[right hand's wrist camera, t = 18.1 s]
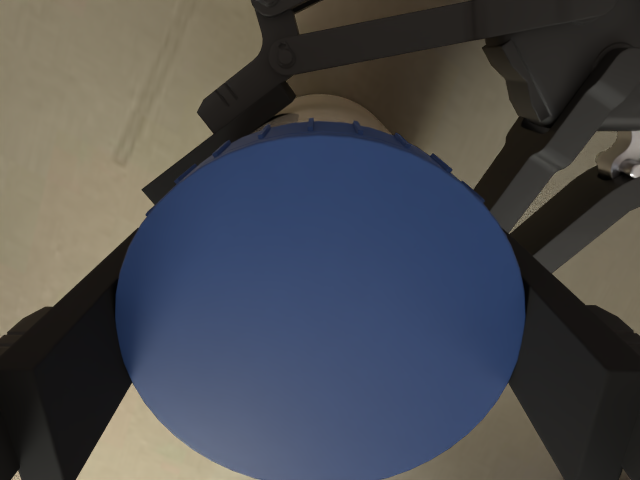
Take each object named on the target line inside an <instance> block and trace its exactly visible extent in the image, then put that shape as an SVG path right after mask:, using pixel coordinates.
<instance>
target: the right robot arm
mask: <svg viewBox="0 0 640 480" xmlns="http://www.w3.org/2000/svg"><path fill="white" fill-rule="evenodd" d="M138 229H139V228H137V229H136V230H135V231H134V232H133V233H132V234H131V235H130V236H129V237H128V238H126V239H125V240H124V241H123V242H122V243H121V244H120V245H119V246H118V247H117V248H116V249H115V250H114V251H113V252H111V253H110V254H109V255H108V256H107V257H106V258H105V259H104V260H103V261H102V262H101V263H100V264H99V265H97V266H96V267H95V268H94V269H93V270H92V271H91V272H90V273H89V274H88V275H87V276H86V277H85V278H84V279H82V280H81V281H80V282H79V283H78V284H77V285H76V286H75V287H74V288H73V289H72V290H71V291H70V292H68V293H67V294H66V295H65V296H64V297H63V298H62V299H61V300H60V301H59V302H58V303H57V304H56V305H54V306H53V307H44V308H42V309H40V310H38V311H36V312H34V313H32V314H31V315H29V316H27V317H25V318H23V319H22V320H21V321H20V322H18V323H17V324H16V325H15V326H14V327H13V328H12V329H10V330H9V331H8V332H7V335H4V336H2V337H1V338H0V480H11V479H12V478H13V476H14V475H15V473H16V472H17V471H19V474H20V477H21V480H76V478H77V477H78V475H79V473H80V471H81V470H82V468H83V466H84V465H85V463H86V461H87V459H88V458H89V456H90V454H91V452H92V451H93V449H94V447H95V446H96V444H97V442H98V440H99V439H100V437H101V435H102V434H103V432H104V430H105V428H106V427H107V425H108V423H109V421H110V420H111V418H112V416H113V415H114V413H115V411H116V409H117V408H118V406H119V404H120V402H121V401H122V399H123V397H124V396H125V394H126V392H127V390H128V389H129V387H130V385H131V384H132V380H131V378H130V376H129V374H128V371H127V369H126V367H125V365H124V362H123V358H122V355H121V350H120V346H119V341H118V335H117V330H116V323H115V299H116V290H117V285H118V279H119V274H120V270H121V267H122V264H123V261H124V258H125V255H126V253H127V250H128V247H129V245H130V243H131V242H132V240H133V238H134V236H135V234H136V232H137V231H138ZM502 230H503V231H504V233H506V235H507V239H508V240H509V242H510V244H511V246H512V249H513V251H514V254H515V257H516V259H517V262H518V265H519V267H520V272H521V277H522V282H523V286H524V291H525V312H526V318H525V326H524V332H523V337H522V342H521V347H520V352H519V357H518V360H517V363H516V365H515V368H514V370H513V373H512V375H511V377H510V380H509V382H508V383H509V385H510V386H511V388H512V390H513V392H514V393H515V395H516V397H517V399H518V400H519V402H520V404H521V405H522V407H523V409H524V411H525V412H526V414H527V416H528V418H529V419H530V421H531V423H532V424H533V426H534V428H535V430H536V431H537V433H538V435H539V436H540V438H541V440H542V442H543V443H544V445H545V447H546V449H547V450H548V452H549V454H550V455H551V457H552V459H553V461H554V462H555V464H556V466H557V468H558V469H559V471H560V473H561V474H562V476H563V478H564V480H619V478H620V475H621V472H622V469H624V471H625V472H626V473H627V475H628V476H629V477H630V479H631V480H640V336H639V335H638V334H637V333H634V332H633V330H632V329H631V328H630V327H629V326H628V325H627V324H625V323H624V322H623V321H622V320H621V319H620V318H618V317H617V316H615V315H613V314H611V313H609V312H607V311H606V310H604V309H602V308H600V307H598V306H596V305H585V304H584V303H583V302H582V301H580V300H579V299H578V298H577V297H576V296H575V295H574V294H573V293H572V292H571V291H570V290H569V289H568V288H566V287H565V286H564V285H563V284H562V283H561V282H560V281H559V280H558V279H557V278H556V277H555V276H554V275H552V274H551V273H550V272H549V271H548V270H547V269H546V268H545V267H544V266H543V265H542V264H541V263H540V262H539V261H537V260H536V259H535V258H534V257H533V256H532V255H531V254H530V253H529V252H528V251H527V250H526V249H525V248H523V247H522V246H521V245H520V244H519V243H518V242H517V241H516V240H515V239H514V238H513V237H512V236H511V235H509V234H508V233H507V232H506V231H505V230H504V229H503V228H502Z"/></svg>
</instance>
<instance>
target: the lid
mask: <svg viewBox="0 0 640 480" xmlns="http://www.w3.org/2000/svg"><path fill="white" fill-rule="evenodd" d="M451 171H452V169H451V168H450V167H449V166H448V165H447V164H445V163H444V162H443V161H442V160H441V159H439V158H438V157H437V156H436V155H434V154H433V153H432V155H431V156H429V155H428V154H426V153H425V152H423V151H422V150H421V149H419V148H418V147H416V146H414V145H412V144H410V143H408V142H407V141H406V140H405V139H404V138H403V137H402V136H401V135H400V134H398V133H395V135H391V134H388V133H385V132H382V131H379V130H376V129H373V128H370V127H365V126H360V124H359V122H358V121H353V124H350V123H344V122H327V121H314V118H309V121H308V122H298V123H290V124H285V125H281V126H276V127H271V126H270V124H269V125H265V127H264V128H263V129H262V130H261V131H258V132H256V133H253V134H250V135H247V136H244V137H242V138H240V139H238V140H236V141H235V142H233V143H231V142H230V140H228V141H226V142H225V143H224V144H223V145H222V146H220V147H219V148H218V149H217V150H216V151H215V152H214V153H213V154H212V155H211V156H210V157H209V158H207V159H206V160H204V161H203V162H202V163H200V164H199V165H198V166H197V165H196V164H194V165H192V166H191V167H190V168H189V169H188V170H187V171H185V172H184V173H183V174H182V175H181V176H179V177H178V178H177V179H176V180H175V181H174V182H175V183H176V185H175V186H174V187H173V188H172V189H171V190H170V191H169V192H168V193H167V194H166V195H165V196H164V197H163V198H162V199H161V200H160V201H159V202H158V203H157V204H156V205H154V206H153V207H152V208H151V209H150V210H149V211H148V212H147V213H146V216H147V217H146V218H145V220H144V221H143V222H142V224H141V225H140V227H139V229H138V231H137V232H136V234H135V236H134V238H133V240H132V242H131V243H130V245H129V247H128V250H127V253H126V255H125V258H124V261H123V264H122V267H121V270H120V274H119V279H118V285H117V290H116V299H115V323H116V330H117V335H118V341H119V346H120V350H121V355H122V358H123V362H124V365H125V367H126V369H127V371H128V374H129V376H130V378H131V380H132V383H133V385H134V386H135V388H136V390H137V391H138V393H139V394H140V396H141V398H142V399H143V401H144V403H145V404H146V405H147V406H148V408H149V409H150V410H151V411H152V413H153V414H154V415H155V416H156V417H157V419H158V420H159V421H160V422H161V423H162V424H163V425H164V426H165V427H166V428H167V429H168V430H169V431H170V432H171V433H172V434H173V435H175V436H176V437H177V438H178V439H180V440H181V441H182V442H184V443H185V444H186V445H187V446H189V447H190V448H191V449H193V450H194V451H196V452H198V453H199V454H201V455H203V456H204V457H206V458H208V459H209V460H211V461H213V462H215V463H217V464H219V465H221V466H224V467H226V468H228V469H230V470H232V471H235V472H238V473H241V474H243V475H246V476H249V477H252V478H255V479H260V480H381V479H385V478H389V477H391V476H394V475H397V474H400V473H403V472H405V471H408V470H411V469H413V468H415V467H417V466H419V465H421V464H423V463H425V462H427V461H430V460H431V459H433V458H435V457H436V456H438V455H439V454H441V453H443V452H444V451H446V450H448V449H449V448H451V447H452V446H453V445H454V444H456V443H457V442H458V441H460V440H461V439H462V438H463V437H465V436H466V435H467V434H468V433H469V432H470V431H471V430H472V429H473V428H474V427H475V426H476V425H477V424H478V423H479V422H480V421H481V420H482V419H483V418H484V417H485V416H486V414H487V413H488V412H489V411H490V409H491V408H492V407H493V406H494V404H495V403H496V402H497V400H498V399H499V397H500V395H501V394H502V392H503V390H504V389H505V387H506V385H507V384H508V382H509V380H510V377H511V375H512V373H513V370H514V368H515V365H516V363H517V360H518V357H519V352H520V347H521V342H522V337H523V332H524V326H525V318H526V312H525V291H524V286H523V282H522V277H521V272H520V267H519V265H518V262H517V259H516V257H515V254H514V251H513V249H512V246H511V244H510V242H509V240H508V239H507V235H506V233H504V231H503V230H502V228H501V226H500V224H499V223H498V221H497V220H496V219H495V217H494V216H493V215H492V214H491V212H490V211H489V210H488V209H487V207H486V206H485V205H484V204H483V202H485V200H484V199H483V198H482V197H481V196H480V195H479V194H477V193H476V192H475V191H474V190H473V189H472V188H470V187H469V186H468V185H467V184H466V183H465V182H463V181H460V180H458V179H457V178H456V177H455V176H454V175H453V174H451V173H450V172H451Z"/></svg>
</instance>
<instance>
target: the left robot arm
mask: <svg viewBox="0 0 640 480" xmlns="http://www.w3.org/2000/svg"><path fill="white" fill-rule="evenodd" d="M320 1H322V0H251V2H252V5H253V7H254V8H255V11H256V15H257V18H258V22H259V25H260V28H261V32H262V37H263V44H262V48H261V51H260V53H259V55H258V56H257V57H256V58H255V59H254V60H253V61H252V62H250V63H249V64H248V65H247V66H245V67H244V68H243V69H241V70H240V71H239V72H238V73H236V74H235V75H234V76H233V77H231V78H230V79H229V80H228V81H226V82H225V83H224V84H223V85H221V86H220V87H219V88H218V89H216V90H215V91H214V92H213V93H211V94H210V95H209V96H207V97H206V98H205V99H204V100H203V102H202V104H201V106H200V108H199V109H198V111H197V113H198V114H199V116H200V117H201V118H202V120H203V121H204V122H205V123H206V125H207V126H208V127H209V128H210V130H211V131H212V132H213V135H212V136H211V137H209V138H208V139H207V140H205V141H204V142H203V143H201V144H200V145H199V146H198V147H196V148H195V149H194V150H192V151H191V152H190V153H188V154H187V155H186V156H185V157H183V158H182V159H181V160H179V161H178V162H177V163H175V164H174V165H173V166H171V167H170V168H169V169H168V170H166V171H165V172H164V173H162V174H161V175H160V176H158V177H157V178H156V179H155V180H153V181H152V182H151V183H149V184H148V185H147V186H145V187H144V188H143V189H142V191H143V192H144V193H145V194H146V195H147V197H148V198H149V199H150V200H151V201H152V202H153V203H154V205H156V204H157V203H158V202H159V201H160V200H161V199H162V198H163V197H164V196H165V195H166V194H167V193H168V192H169V191H170V190H171V189H172V188H173V187H174V186H175V185H176V183H175V182H174V181H175V180H176V179H177V178H178V177H179V176H181V175H182V174H183V173H184V172H185V171H187V170H188V169H189V168H190V167H191V166H192V165H194V164H196V165H197V166H198V165H199V164H200V163H202V162H203V161H204V160H206V159H207V158H209V157H210V156H211V155H212V154H213V153H214V152H215V151H216V150H217V149H218V148H219V147H220V146H222V145H223V144H224V143H225V142H226V141H228V140H230V142H231V143H233V142H235V141H236V140H238V139H240V138H242V137H244V136H247V135H249V134H251V133H252V132H253V131H255V130H256V129H257V128H259V127H260V126H261V125H263V124H264V123H265V122H267V121H268V120H269V119H271V118H272V117H273V116H275V115H276V114H277V113H279V112H280V111H281V110H283V109H284V108H285V107H287V106H288V105H289V104H291V103H292V102H293V101H294V99H295V97H296V95H295V94H294V92H293V91H292V89H291V88H290V86H289V85H288V83H287V82H286V80H288V79H289V78H290V77H291V76H293V75H296V74H301V73H306V72H311V71H316V70H322V69H327V68H332V67H337V66H342V65H348V64H353V63H358V62H363V61H368V60H374V59H379V58H384V57H389V56H394V55H400V54H405V53H410V52H415V51H420V50H426V49H431V48H436V47H441V46H446V45H452V44H457V43H462V42H467V41H473V40H479V39H484V38H485V42H486V45H485V46H484V47H482V49H483V51H484V53H485V54H486V56H487V58H488V60H489V62H490V64H491V65H492V66H493V67H494V68H495V69H496V70H497V71H498V72H499V73H500V74H501V75H502V76H503V77H504V79H505V80H506V85H507V90H508V94H509V99H510V101H511V103H512V105H513V107H514V109H515V111H516V113H517V115H518V116H519V118H518V119H517V121H516V122H515V123H514V125H513V126H512V128H511V129H510V131H509V132H508V134H507V136H506V143H505V146H504V147H503V149H502V150H501V152H500V153H499V154H498V156H497V157H496V159H495V160H494V161H493V163H492V164H491V166H490V167H489V168H488V170H487V171H486V173H485V174H484V175H483V177H482V178H481V180H480V181H479V183H478V184H477V185H476V187H475V188H474V191H475V192H476V193H477V194H479V195H480V196H481V197H482V198H483V199H484V200H485V202H483V204H484V205H485V206H486V207H487V209H488V210H489V211H490V212H491V214H492V215H493V216H494V217H495V219H496V220H497V221H498V223H499V224H500V226H501V228H503V229H504V230H505V231H506V232H507V233H509V232H510V231H511V229H512V228H513V227H514V225H515V224H516V223H517V221H518V220H519V219H520V217H521V216H522V215H523V214H524V212H525V211H526V210H527V208H528V207H529V206H530V204H531V203H532V202H533V201H534V199H535V198H536V197H537V195H538V194H539V193H540V191H541V190H542V189H543V188H544V186H545V185H546V184H547V182H548V181H549V180H550V178H551V177H552V176H553V175H554V174H555V173H556V172H557V171H559V170H561V169H564V168H566V167H567V166H569V165H570V164H571V163H572V162H573V160H574V159H575V158H576V157H577V155H578V154H579V153H580V151H581V150H582V149H583V148H584V146H585V145H586V144H587V142H588V141H589V140H590V139H591V137H592V136H593V135H594V133H595V132H596V131H618V135H617V139H616V141H615V143H614V144H613V145H612V147H610V148H609V149H608V150H606V151H605V152H601V153H599V154H598V155H597V157H596V163H597V164H598V165H597V166H595V167H593V168H591V169H589V170H587V171H586V172H584V173H583V174H581V175H579V176H578V177H577V178H575V179H574V180H573V181H571V182H570V183H569V184H568V185H567V186H565V187H564V188H563V189H562V190H561V191H560V192H558V193H557V194H556V195H555V196H554V197H553V198H551V199H550V200H549V201H548V202H547V203H545V204H544V205H543V206H542V207H541V208H540V209H538V210H537V211H536V212H535V213H534V214H533V215H531V216H530V217H529V218H528V219H527V220H526V221H524V222H523V223H522V224H521V225H520V226H519V227H517V228H516V229H515V230H514V231H513V232H512V233H510V234H509V235H511V236H512V237H513V238H514V239H515V240H516V241H517V242H518V243H519V244H520V245H521V246H522V247H523V248H525V249H526V250H527V251H528V252H529V253H530V254H531V255H532V256H533V257H534V258H535V259H536V260H537V261H539V262H540V263H541V264H542V265H543V266H544V267H545V268H546V269H547V270H548V271H549V272H550V273H551V274H552V273H553V272H554V271H555V270H557V269H558V268H559V267H560V266H562V265H563V264H564V263H565V262H567V261H568V260H569V259H570V258H572V257H573V256H574V255H575V254H577V253H578V252H579V251H580V250H582V249H583V248H584V247H585V246H587V245H588V244H589V243H590V242H592V241H593V240H594V239H595V238H597V237H598V236H599V235H600V234H602V233H603V232H604V231H605V230H607V229H608V228H609V227H610V226H612V225H613V224H614V223H615V222H617V221H618V220H619V219H620V218H622V217H623V216H624V215H625V214H627V213H628V212H629V211H631V210H633V209H636V208H638V207H640V0H471V1H467V2H462V3H457V4H452V5H447V6H442V7H437V8H432V9H427V10H422V11H417V12H412V13H407V14H402V15H397V16H392V17H387V18H382V19H377V20H372V21H367V22H362V23H356V24H351V25H346V26H341V27H336V28H331V29H326V30H321V31H316V32H311V33H306V34H301V35H300V34H299V30H298V26H297V23H296V19H295V15H294V14H296V13H298V12H300V11H302V10H304V9H306V8H308V7H310V6H312V5H314V4H316V3H318V2H320Z"/></svg>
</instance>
